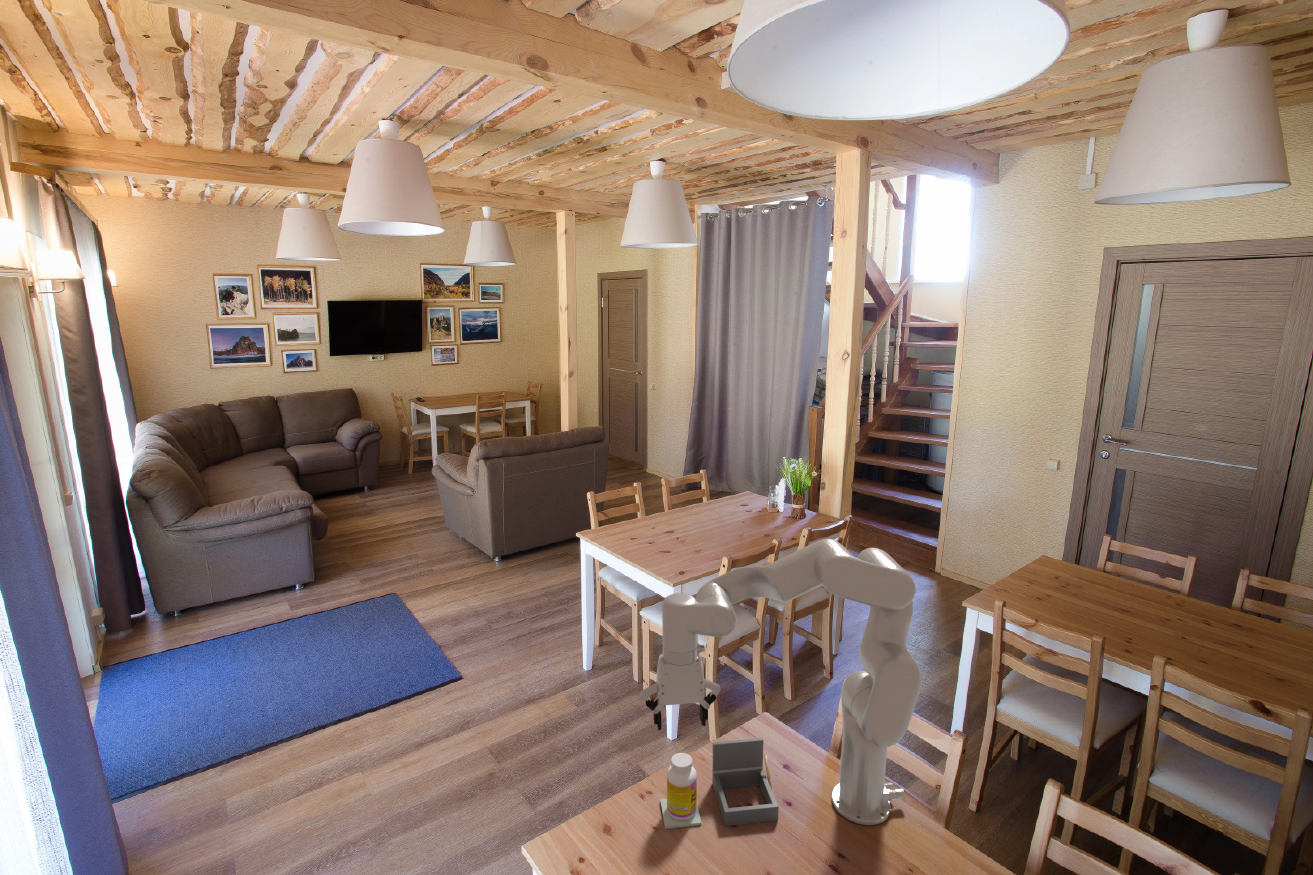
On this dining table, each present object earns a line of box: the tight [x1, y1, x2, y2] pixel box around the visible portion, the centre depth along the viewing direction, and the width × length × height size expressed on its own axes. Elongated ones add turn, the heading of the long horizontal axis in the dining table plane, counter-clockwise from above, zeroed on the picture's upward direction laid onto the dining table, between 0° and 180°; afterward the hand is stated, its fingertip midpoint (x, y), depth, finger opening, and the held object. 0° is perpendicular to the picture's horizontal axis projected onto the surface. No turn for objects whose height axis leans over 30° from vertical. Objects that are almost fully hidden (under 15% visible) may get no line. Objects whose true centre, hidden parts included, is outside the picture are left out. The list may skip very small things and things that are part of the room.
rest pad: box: [659, 798, 702, 830], centre depth 143 cm, size 8×8×1 cm
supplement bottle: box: [666, 752, 698, 821], centre depth 141 cm, size 7×7×13 cm
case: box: [711, 737, 779, 827], centre depth 145 cm, size 13×13×11 cm
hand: (680, 724), depth 139 cm, fingers open, 9 cm apart
